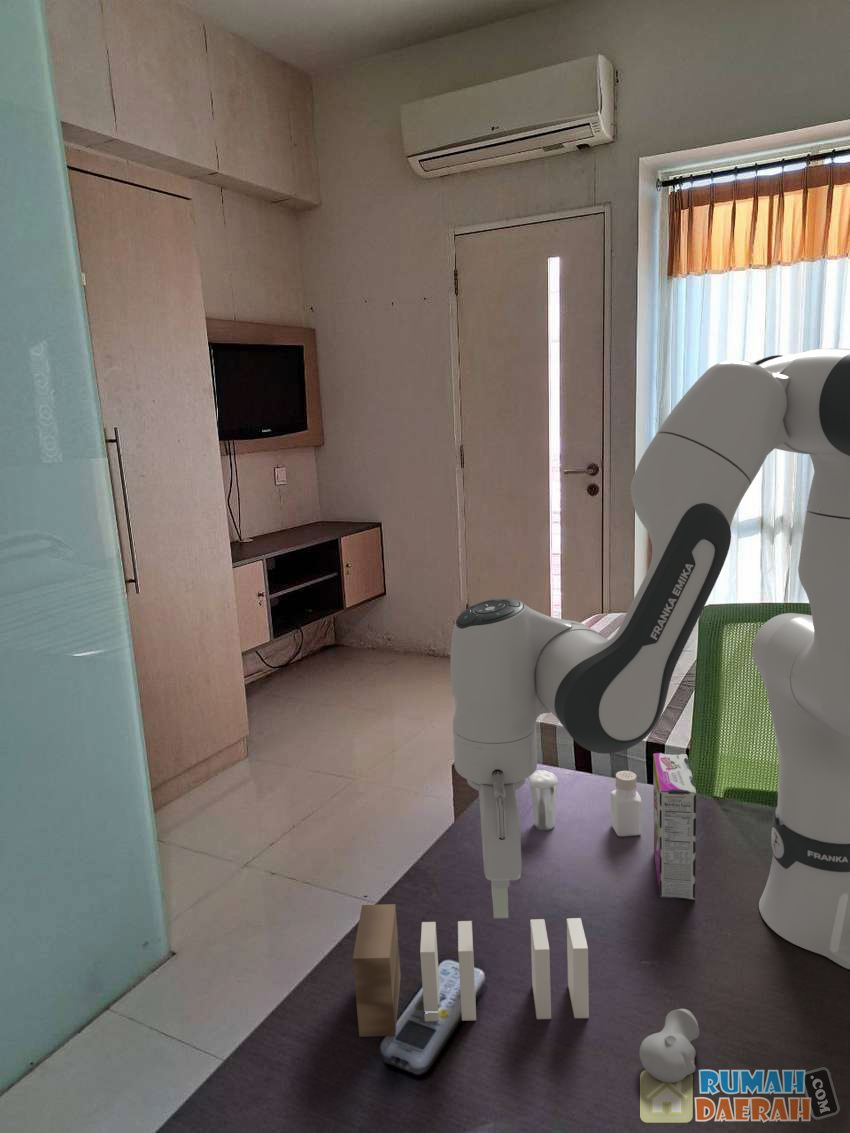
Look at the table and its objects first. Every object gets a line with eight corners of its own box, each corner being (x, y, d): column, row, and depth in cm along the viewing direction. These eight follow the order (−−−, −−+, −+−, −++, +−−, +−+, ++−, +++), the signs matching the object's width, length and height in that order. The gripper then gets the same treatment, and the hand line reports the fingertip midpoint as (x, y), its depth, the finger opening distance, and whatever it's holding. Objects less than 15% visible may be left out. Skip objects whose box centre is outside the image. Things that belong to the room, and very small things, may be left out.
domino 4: (545, 985, 92) (544, 919, 90) (551, 1018, 87) (549, 949, 85) (532, 985, 92) (530, 919, 90) (536, 1019, 87) (534, 949, 85)
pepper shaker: (609, 824, 125) (609, 770, 123) (634, 822, 125) (634, 768, 123) (617, 838, 121) (617, 782, 119) (642, 836, 121) (643, 780, 119)
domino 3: (505, 889, 89) (503, 818, 88) (508, 917, 85) (506, 843, 83) (491, 889, 90) (489, 818, 88) (493, 918, 85) (491, 844, 83)
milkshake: (521, 822, 127) (519, 766, 125) (550, 815, 128) (549, 759, 126) (533, 836, 123) (531, 778, 121) (563, 829, 124) (562, 772, 122)
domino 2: (474, 987, 93) (471, 920, 91) (476, 1020, 88) (472, 950, 86) (461, 987, 93) (458, 921, 91) (461, 1020, 88) (458, 951, 86)
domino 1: (439, 987, 93) (435, 921, 91) (438, 1021, 88) (434, 951, 86) (426, 988, 93) (421, 922, 91) (424, 1021, 88) (420, 952, 86)
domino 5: (581, 984, 92) (580, 918, 90) (588, 1018, 87) (588, 948, 85) (568, 985, 92) (566, 918, 90) (574, 1018, 87) (573, 948, 85)
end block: (400, 976, 95) (395, 904, 93) (395, 1035, 86) (389, 957, 84) (368, 977, 95) (362, 905, 93) (359, 1036, 86) (352, 958, 84)
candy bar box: (651, 852, 117) (652, 751, 113) (686, 854, 116) (688, 752, 112) (657, 899, 106) (658, 789, 103) (696, 902, 105) (698, 791, 102)
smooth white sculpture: (670, 1106, 77) (627, 1065, 80) (709, 1057, 83) (668, 1019, 86) (682, 1080, 75) (638, 1039, 79) (722, 1031, 81) (679, 994, 84)
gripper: (534, 799, 73) (537, 928, 76) (517, 712, 93) (520, 817, 96) (467, 801, 73) (473, 930, 76) (464, 713, 93) (468, 818, 96)
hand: (499, 866), depth 86 cm, fingers closed on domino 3, 5 cm apart
